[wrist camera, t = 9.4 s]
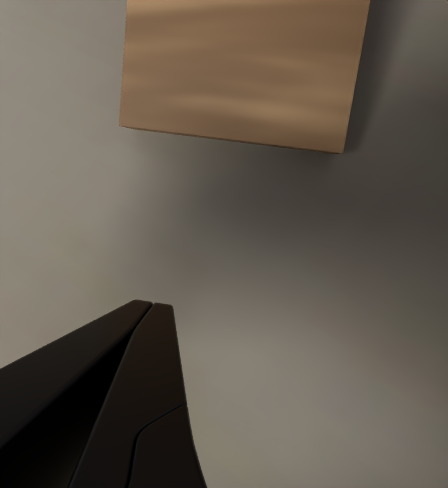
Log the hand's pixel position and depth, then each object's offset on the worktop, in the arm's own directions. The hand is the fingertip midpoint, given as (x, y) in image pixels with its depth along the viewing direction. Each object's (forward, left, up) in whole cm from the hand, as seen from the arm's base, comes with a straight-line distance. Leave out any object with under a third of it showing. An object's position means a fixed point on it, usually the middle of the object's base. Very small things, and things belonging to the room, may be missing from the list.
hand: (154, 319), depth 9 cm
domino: (+10, +5, -9) cm, 14 cm away
